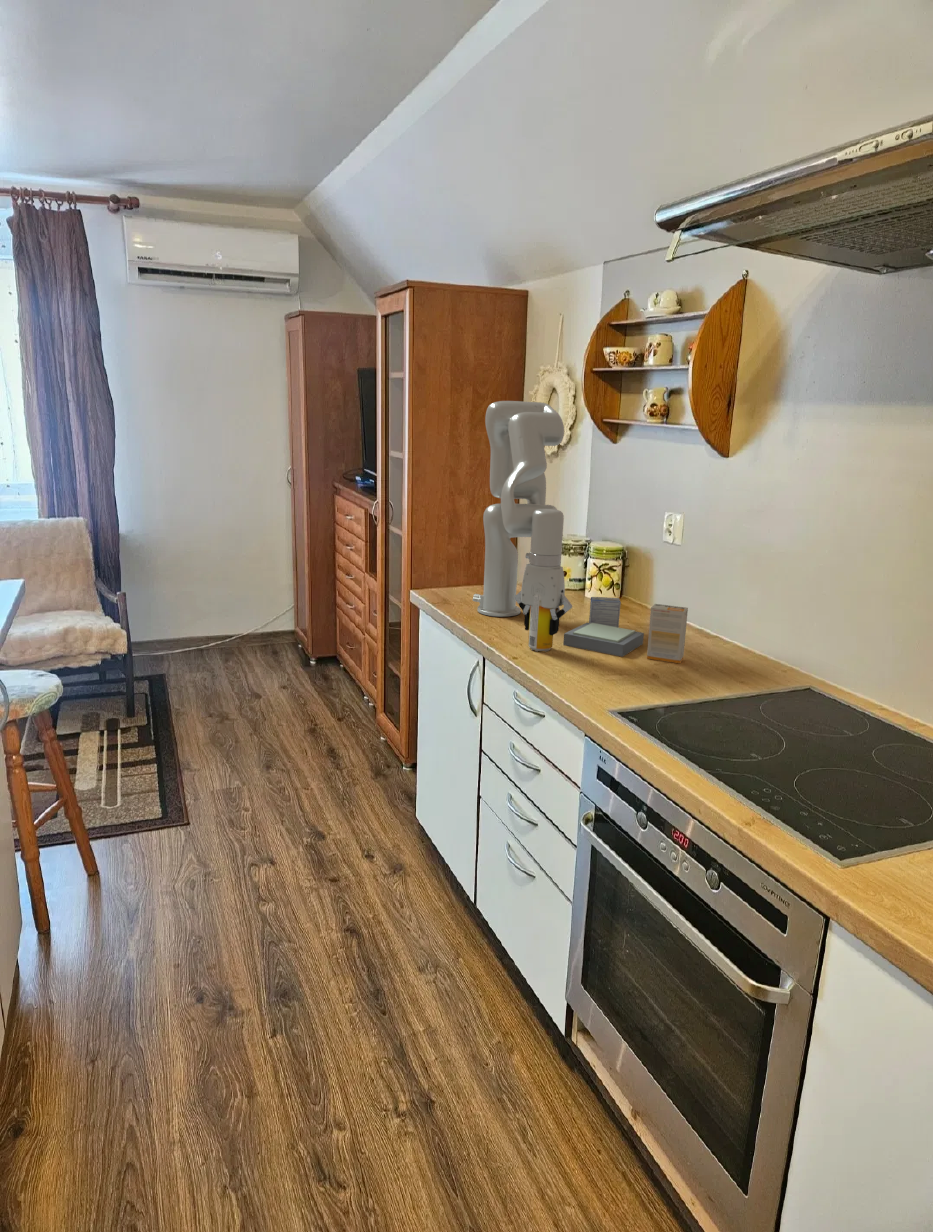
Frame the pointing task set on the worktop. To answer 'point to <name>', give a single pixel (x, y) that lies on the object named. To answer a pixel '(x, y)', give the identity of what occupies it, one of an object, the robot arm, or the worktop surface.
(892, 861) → the worktop surface
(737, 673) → the worktop surface
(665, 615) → the supplement box
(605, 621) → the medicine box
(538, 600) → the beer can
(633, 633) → the raised board
